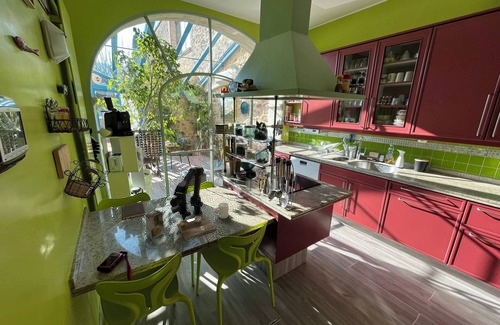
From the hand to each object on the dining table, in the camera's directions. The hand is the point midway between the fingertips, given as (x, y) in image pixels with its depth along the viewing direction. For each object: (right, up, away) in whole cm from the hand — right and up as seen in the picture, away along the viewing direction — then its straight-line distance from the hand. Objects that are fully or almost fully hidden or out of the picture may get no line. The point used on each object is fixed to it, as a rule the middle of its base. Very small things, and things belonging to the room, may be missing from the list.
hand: (183, 220), depth 152 cm
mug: (+27, -1, +13) cm, 30 cm away
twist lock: (+6, -2, -2) cm, 7 cm away
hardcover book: (-49, +2, +19) cm, 53 cm away
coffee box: (-15, -7, -12) cm, 21 cm away
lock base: (+10, -5, -4) cm, 12 cm away
